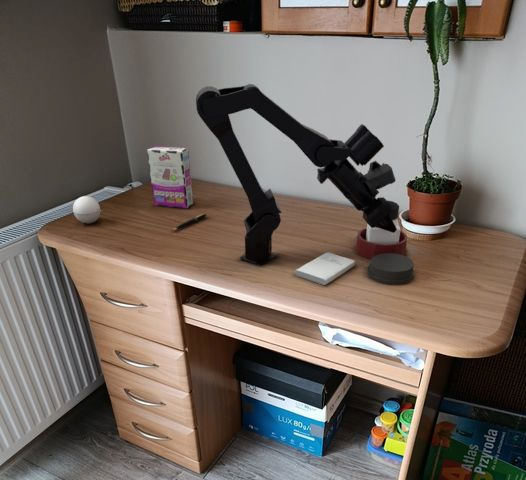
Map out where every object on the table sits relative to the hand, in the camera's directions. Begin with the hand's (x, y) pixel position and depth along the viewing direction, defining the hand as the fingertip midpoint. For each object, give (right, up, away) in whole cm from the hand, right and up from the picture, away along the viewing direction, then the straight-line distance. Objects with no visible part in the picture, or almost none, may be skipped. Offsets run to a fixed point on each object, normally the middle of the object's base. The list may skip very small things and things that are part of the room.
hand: (389, 224), depth 124 cm
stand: (-2, -13, -7) cm, 15 cm away
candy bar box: (-58, +14, +33) cm, 68 cm away
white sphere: (-78, +5, +21) cm, 81 cm away
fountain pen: (-51, +5, +20) cm, 55 cm away
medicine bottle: (-1, -6, +4) cm, 7 cm away
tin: (-1, -5, +4) cm, 7 cm away
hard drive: (-16, -12, -5) cm, 21 cm away
